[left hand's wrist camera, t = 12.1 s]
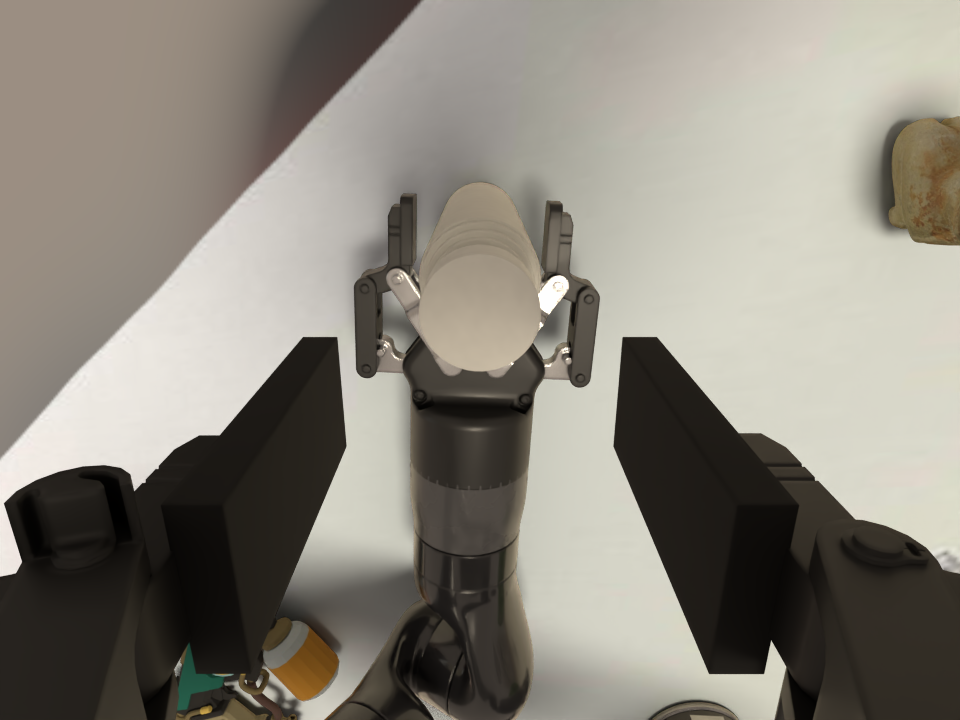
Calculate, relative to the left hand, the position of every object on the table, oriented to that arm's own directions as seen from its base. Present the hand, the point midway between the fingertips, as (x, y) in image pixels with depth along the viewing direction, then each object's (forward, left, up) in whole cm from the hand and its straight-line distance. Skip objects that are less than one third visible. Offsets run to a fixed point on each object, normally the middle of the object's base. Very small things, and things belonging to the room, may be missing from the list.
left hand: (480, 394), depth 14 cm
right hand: (-2, -1, -22) cm, 22 cm away
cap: (0, 0, -7) cm, 7 cm away
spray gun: (+40, +13, -28) cm, 51 cm away
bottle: (0, 0, -28) cm, 28 cm away
